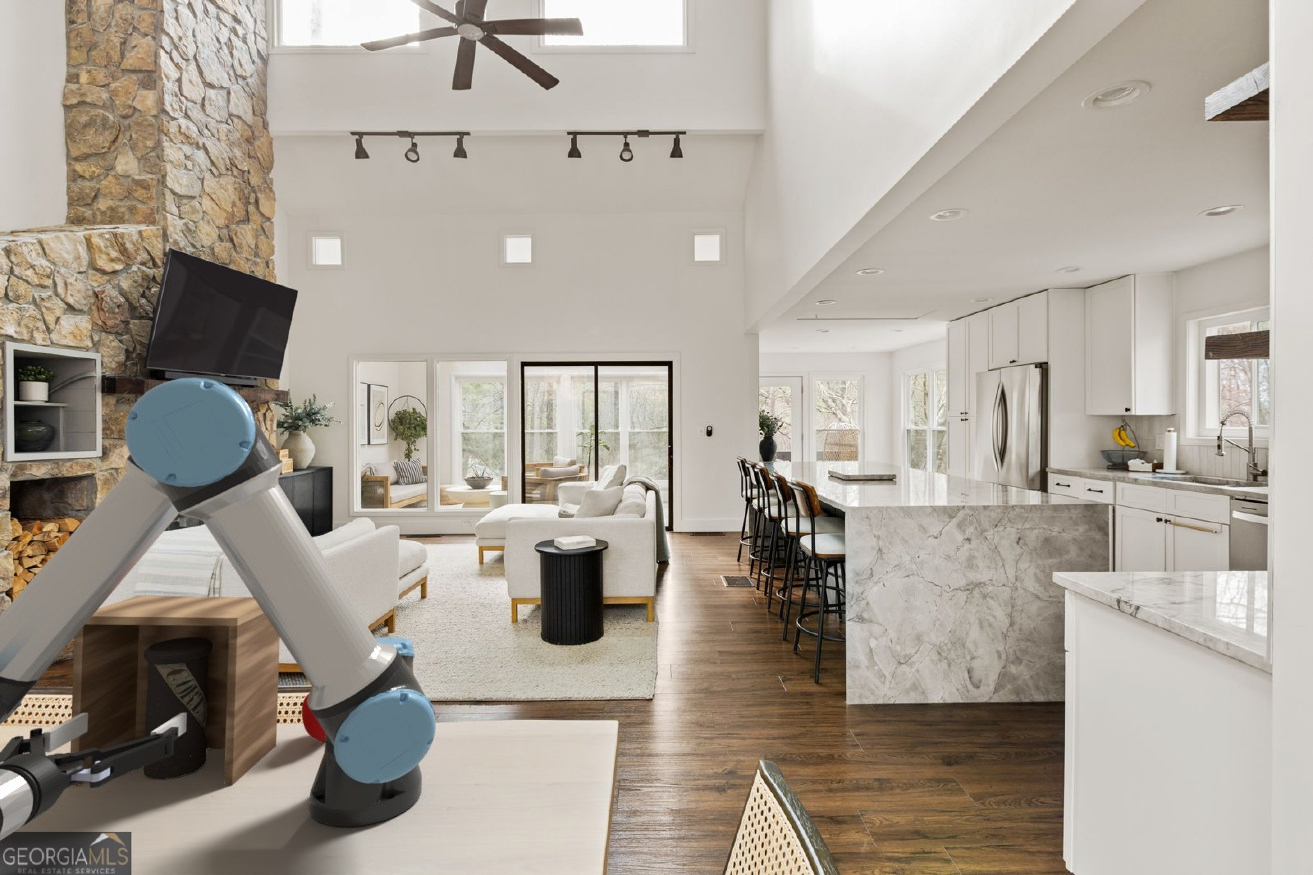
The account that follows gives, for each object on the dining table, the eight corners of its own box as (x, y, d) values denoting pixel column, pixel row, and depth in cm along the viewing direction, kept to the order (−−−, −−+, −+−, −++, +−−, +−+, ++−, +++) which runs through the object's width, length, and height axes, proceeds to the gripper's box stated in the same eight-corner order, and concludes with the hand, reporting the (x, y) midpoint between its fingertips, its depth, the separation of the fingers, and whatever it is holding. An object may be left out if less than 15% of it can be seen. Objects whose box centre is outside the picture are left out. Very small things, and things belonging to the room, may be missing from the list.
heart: (325, 757, 111) (327, 696, 112) (292, 756, 111) (293, 696, 111) (354, 727, 123) (355, 672, 123) (323, 726, 123) (325, 671, 123)
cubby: (276, 745, 115) (280, 597, 115) (232, 785, 102) (237, 618, 102) (132, 745, 113) (137, 595, 114) (69, 785, 100) (75, 616, 100)
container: (174, 785, 101) (178, 651, 102) (125, 777, 103) (129, 646, 103) (222, 758, 110) (226, 635, 110) (176, 752, 112) (180, 631, 112)
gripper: (-118, 834, 75) (42, 748, 97) (117, 832, 77) (223, 747, 98) (-115, 767, 76) (44, 696, 97) (119, 766, 77) (225, 696, 98)
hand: (134, 722), depth 98 cm, fingers open, 13 cm apart
